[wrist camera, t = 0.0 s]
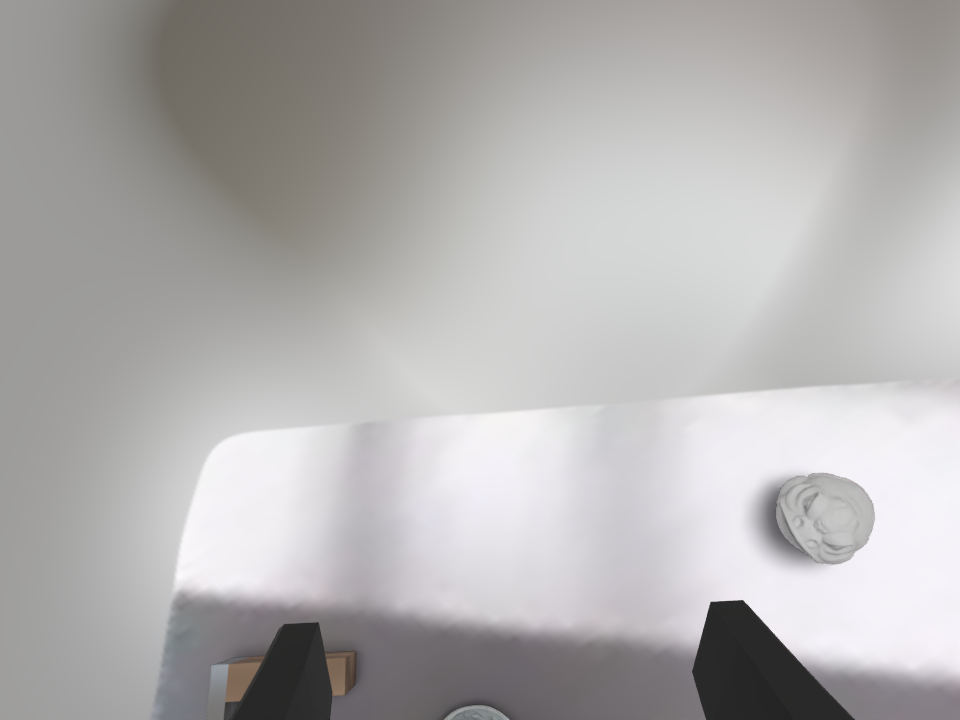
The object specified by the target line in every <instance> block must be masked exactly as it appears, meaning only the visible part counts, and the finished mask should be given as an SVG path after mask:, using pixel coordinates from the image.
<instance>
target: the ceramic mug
mask: <svg viewBox="0 0 960 720" xmlns="http://www.w3.org/2000/svg"><path fill="white" fill-rule="evenodd" d="M444 720H509V719H508V718H507V717H506V716H505V715H504V714H502V713H501V712H500V711H498V710H496V709H494V708H492V707H489V706H483V705H471V706H466V707H462V708H459V709H457V710H455V711H453V712H451V713H450V714H449V715H448V716H447V717H446V718H445V719H444Z"/></svg>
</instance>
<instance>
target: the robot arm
mask: <svg viewBox="0 0 960 720" xmlns="http://www.w3.org/2000/svg"><path fill="white" fill-rule="evenodd" d="M692 673H693V676H694V680H695V683H696V687H697V690H698V694H699V697H700V701H701V704H702V707H703V711H704V714H705V717H706V720H855V719H854V718H853V717H852V716H851V715H850V714H849V713H848V712H847V711H846V710H845V709H844V708H843V707H842V706H841V705H840V704H839V703H838V702H837V701H836V700H835V699H834V698H833V697H832V696H831V695H830V694H829V693H828V691H827V690H826V689H825V688H824V687H823V686H822V685H821V684H820V683H819V682H818V681H817V680H816V679H815V678H814V677H813V676H812V675H811V674H810V672H809V671H808V670H807V669H806V668H805V667H804V666H803V665H802V664H801V663H800V662H799V661H798V660H797V658H796V657H795V656H794V655H793V654H792V653H791V652H790V651H789V650H788V649H787V648H786V647H785V645H784V644H783V643H782V642H781V641H780V640H779V639H778V638H777V637H776V636H775V634H774V633H773V632H772V631H771V630H770V629H769V628H768V627H767V626H766V625H765V623H764V622H763V621H762V620H761V619H760V618H759V617H758V616H757V615H756V614H755V613H754V611H753V610H752V609H751V608H750V607H749V606H748V605H747V604H746V603H745V602H744V601H743V600H738V601H719V602H711V603H710V606H709V610H708V614H707V618H706V621H705V625H704V629H703V633H702V637H701V640H700V644H699V648H698V652H697V656H696V659H695V663H694V667H693V671H692ZM332 694H333V692H332V687H331V682H330V677H329V672H328V667H327V662H326V657H325V652H324V647H323V642H322V637H321V632H320V627H319V622H317V623H298V624H284V625H283V626H282V627H281V628H280V629H279V630H278V632H277V634H276V636H275V638H274V640H273V642H272V644H271V646H270V648H269V650H268V652H267V654H266V655H265V657H264V659H263V661H262V663H261V665H260V667H259V669H258V670H257V672H256V674H255V676H254V678H253V679H252V681H251V683H250V685H249V686H248V688H247V690H246V692H245V693H244V695H243V697H242V699H241V700H240V702H239V704H238V706H237V707H236V709H235V711H234V712H233V714H232V716H231V717H230V719H229V720H330V713H331V703H332Z"/></svg>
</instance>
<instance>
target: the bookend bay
mask: <svg viewBox="0 0 960 720" xmlns="http://www.w3.org/2000/svg"><path fill="white" fill-rule="evenodd" d="M264 657H265V656H257V657H239V658H233V659H230V660H226V661H223V662H220V663H217V664H214V665H212V668H211V678H210V688H209V697H208V707H207V717H206V720H229V719H230V717H231V716H232V714H233V712H234V711H235V709H236V707H237V706H238V704H239V702H240V700H241V699H242V697H243V695H244V693H245V692H246V690H247V688H248V686H249V685H250V683H251V681H252V679H253V678H254V676H255V674H256V672H257V670H258V669H259V667H260V665H261V663H262V661H263V659H264ZM325 657H326V662H327V667H328V672H329V677H330V682H331V687H332V692H333V694H332V696H337V695H345V694H346V693H347V692H348V691H349V690H350V689H351V688H352V687H353V686H354V685H355V679H356V651H348V652H329V653H325Z"/></svg>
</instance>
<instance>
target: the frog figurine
mask: <svg viewBox="0 0 960 720" xmlns="http://www.w3.org/2000/svg"><path fill="white" fill-rule="evenodd" d="M776 504H777V508H776V519H777V523H778V526H779V528H780V530H781V532H782V534H783V535H784V536H785V538H786V539H787V540H788V541H789V542H790V543H791V544H792V545H793V546H794V547H796V548H797V549H799V550H801V551H802V552H803V553H805V554H806V555H808V556H809V557H810V558H812V559H813V560H814V561H815V562H817V563H826V564H840V563H843V562H846V561H848V560H849V559H851V558H852V557H853V555H854V552H855V551H857V550H859V549H860V548H862V547H863V546H864V545H865V544H866V543H867V541H868V540H869V536H870V534H871V532H872V529H873V525H874V520H875V513H874V507H873V503H872V501H871V499H870V497H869V496H868V494H867V493H866V492H865V490H864V489H863V488H862V487H861V486H859V485H858V484H856V483H855V482H853V481H851V480H849V479H847V478H843V477H839V476H836V475H833V474H828V473H813V474H810V475H809V476H808V477H805V476H797V477H794V478H792V479H790V480H788V481H787V482H786V483H785V484H784V485H783V487H782V488H781V490H780V493H779V496H778V500H777V502H776Z"/></svg>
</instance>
